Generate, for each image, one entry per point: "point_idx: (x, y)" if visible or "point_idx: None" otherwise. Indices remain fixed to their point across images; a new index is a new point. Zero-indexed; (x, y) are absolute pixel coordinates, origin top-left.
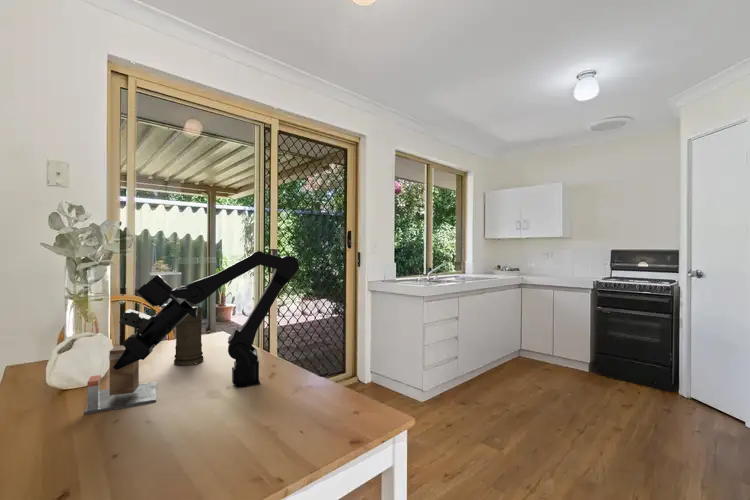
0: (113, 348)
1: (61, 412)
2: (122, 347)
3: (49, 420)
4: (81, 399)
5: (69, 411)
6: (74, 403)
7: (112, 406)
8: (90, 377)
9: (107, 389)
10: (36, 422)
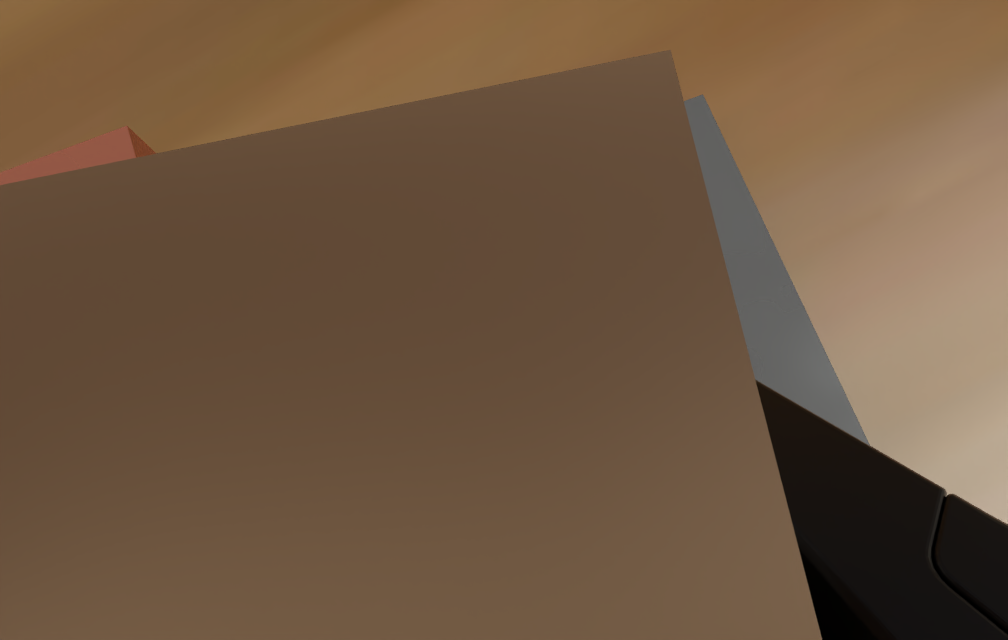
0: (241, 157)
1: (193, 83)
2: (327, 466)
3: (18, 92)
4: (529, 69)
5: (200, 144)
6: (419, 65)
7: None
8: (61, 155)
9: (751, 218)
10: (6, 9)
